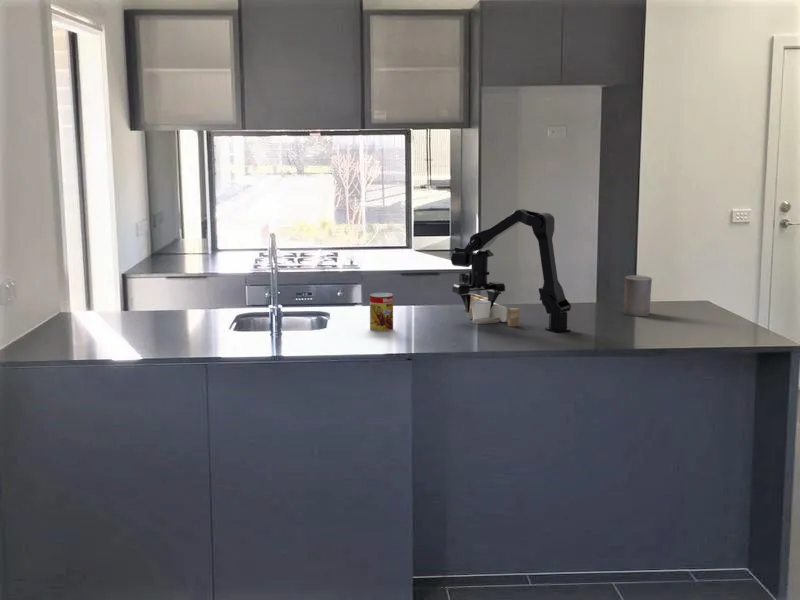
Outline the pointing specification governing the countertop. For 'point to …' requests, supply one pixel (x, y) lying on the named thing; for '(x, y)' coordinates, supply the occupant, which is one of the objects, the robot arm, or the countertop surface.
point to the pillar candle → (637, 295)
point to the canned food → (381, 311)
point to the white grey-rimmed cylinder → (480, 309)
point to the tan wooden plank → (512, 317)
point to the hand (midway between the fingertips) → (478, 311)
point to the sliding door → (494, 312)
